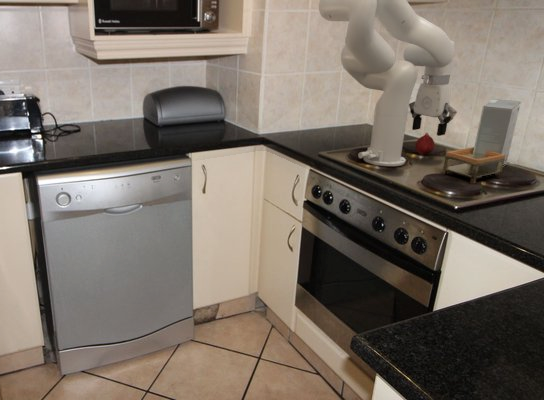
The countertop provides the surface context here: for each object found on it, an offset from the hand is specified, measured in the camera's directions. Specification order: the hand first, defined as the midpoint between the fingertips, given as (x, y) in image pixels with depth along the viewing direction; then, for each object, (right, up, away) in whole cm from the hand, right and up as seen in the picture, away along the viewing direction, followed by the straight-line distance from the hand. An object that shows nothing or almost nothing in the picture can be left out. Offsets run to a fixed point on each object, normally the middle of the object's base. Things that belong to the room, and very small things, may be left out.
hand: (428, 132), depth 160 cm
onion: (-1, -8, +3) cm, 8 cm away
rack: (+3, -16, -18) cm, 24 cm away
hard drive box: (+13, -13, -11) cm, 21 cm away
